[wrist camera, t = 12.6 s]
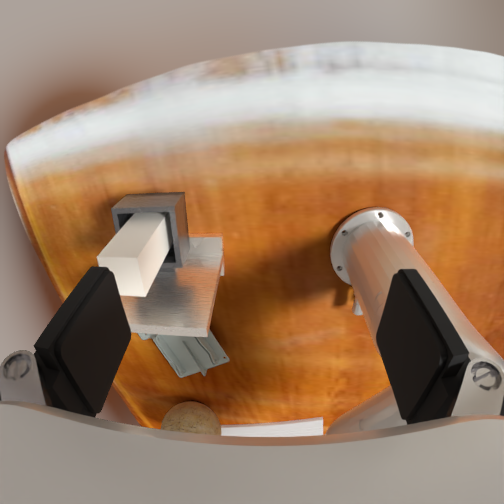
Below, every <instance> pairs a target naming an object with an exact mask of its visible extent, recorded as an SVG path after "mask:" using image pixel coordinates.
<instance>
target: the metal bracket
mask: <svg viewBox="0 0 504 504" xmlns="http://www.w3.org/2000/svg"><path fill="white" fill-rule="evenodd" d="M138 334H139V336H140V337H141V339H142V340H146V339H148V338H152V339H153V341H154V342H155V344H156V345H157V347H158V348H159V350H160V351H161V352H162V354H163V355H164V357H165V358H166V359H167V361H168V362H169V364H170V365H171V366H172V368H173V369H174V370H175V372H176V373H177V375H178V376H179V377H180V378H182V377H185V376H188V375H191V374H194V373H197V372H200V371H201V373H202V374H203V376H205V375H206V372H207V369H209V368H212V367H215V366H218V365H220V364H223V363H226V362H229V360H230V359H229V358H228V356H227V355H226V353H225V352H224V350H223V349H222V347H221V346H220V344H219V343H218V341H217V340H216V338H215V337H214V335H213V334H212V332H211V331H210V329H209V332H208V337H192V336H174V335H160V334H147V333H146V334H147V335H146V334H145V333H138ZM223 357H226V359H224V358H223ZM179 373H180V374H179Z"/></svg>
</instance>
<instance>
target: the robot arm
mask: <svg viewBox="0 0 504 504" xmlns="http://www.w3.org/2000/svg"><path fill="white" fill-rule="evenodd" d="M379 212H380V213H379ZM378 213H379V214H378ZM343 230H345V231H344V232H342V231H343ZM413 245H414V243H413V234H412V230H411V228H410V226H409V224H408V223H407V222H406V221H405V219H404V218H403V217H402V216H401V215H400V214H398V213H397V212H395V211H393V210H391V209H387V208H383V207H372V208H367V209H363V210H360V211H358V212H356V213H354V214H352V215H351V216H350V217H348V218H347V219H346V220H345V221H344V222H343V223H342V224H341V225H340V226H339V228H338V229H337V231H336V232H335V234H334V237H333V239H332V242H331V246H330V258H331V263H332V266H333V268H334V270H335V272H336V274H337V275H338V276H339V277H340V278H341V280H343V281H344V282H346V283H347V284H349V285H352V287H353V289H354V295H355V300H354V303H353V308H352V312H353V313H354V314H356V315H362V314H363V316H364V318H365V321H366V324H367V327H368V329H369V332H370V335H371V337H372V340H373V343H374V346H375V348H376V350H377V352H378V353H379V355H380V356H381V357H382V360H383V363H384V366H385V369H386V372H387V375H388V378H389V381H390V384H391V385H390V386H388V387H387V388H385V389H384V390H382V391H381V392H379V393H377V394H376V395H374V396H373V397H371V398H369V399H368V400H366V401H364V402H363V403H361V404H359V405H358V406H356V407H354V408H353V409H351V410H349V411H347V412H346V413H344V414H343V415H341V416H340V417H339V418H337V419H336V420H335V421H334V422H333V423H332V424H331V425H330V427H329V428H328V430H327V432H326V434H325V435H317V436H295V437H241V436H220V435H206V434H195V433H185V432H176V431H167V430H160V429H153V428H146V427H140V426H134V425H128V424H123V423H118V422H113V421H108V420H104V419H99V418H95V416H96V414H97V413H100V412H101V410H102V407H103V405H104V402H105V400H106V397H107V395H108V392H109V390H110V387H111V385H112V382H113V380H114V377H115V375H116V372H117V370H118V368H119V365H120V363H121V360H122V358H123V356H124V353H125V351H126V349H127V346H128V344H129V342H130V339H131V329H130V326H129V323H128V320H127V317H126V314H125V311H124V307H123V304H122V301H121V297H120V294H119V290H118V287H117V283H116V280H115V276H114V273H113V272H112V271H110V270H109V269H108V268H107V267H91V268H90V269H89V270H88V271H87V273H86V274H85V275H84V277H83V278H82V279H81V280H80V282H79V283H78V284H77V286H76V287H75V288H74V290H73V291H72V292H71V293H70V295H69V296H68V298H67V299H66V300H65V302H64V303H63V304H62V306H61V307H60V308H59V310H58V311H57V313H56V314H55V316H54V317H53V318H52V320H51V321H50V323H49V324H48V325H47V327H46V328H45V330H44V331H43V333H42V334H41V336H40V337H39V339H38V340H37V342H36V343H35V345H34V347H35V349H36V352H35V353H34V355H33V354H32V353H31V352H30V351H27V350H19V351H16V352H14V353H12V354H10V355H9V356H7V357H6V358H5V359H4V361H3V362H2V364H1V366H0V504H504V360H503V359H502V358H501V357H500V355H499V354H498V353H497V352H496V351H495V350H494V349H493V348H492V347H491V345H490V344H489V343H488V342H487V341H486V340H485V339H484V338H483V337H482V336H481V335H480V333H479V332H478V331H477V330H476V329H475V328H474V327H473V325H472V324H471V323H470V322H469V321H468V319H467V318H466V316H465V315H464V314H463V312H462V311H461V310H460V308H459V307H458V306H457V304H456V303H455V302H454V300H453V299H452V297H451V296H450V295H449V293H448V292H447V290H446V289H445V288H444V286H443V285H442V284H441V282H440V281H439V280H438V278H437V277H436V276H435V274H434V273H433V272H432V270H431V269H430V268H429V266H428V265H427V264H426V262H425V261H424V260H423V258H422V257H421V256H420V255H419V253H418V252H417V251H416V250H415V248H414V247H413Z"/></svg>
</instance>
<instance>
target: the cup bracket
mask: <svg viewBox="0 0 504 504" xmlns="http://www.w3.org/2000/svg"><path fill="white" fill-rule="evenodd" d="M111 211H112V216H113V221H114V226H115V231H116V234H117V233H118V231H119V230H120V229H121V228H122V227H123V226H124V225H125V223H126V222H127V221H128V220H129V219H130V218H131V217H132V216H133V215H134V214H135V213H149V212H169V213H170V221H171V229H172V236H173V244H172V246H171V248H170V250H169V251H168V253H167V255H166V257H165V259H164V261H163V263H162V265H161V267H160V269H159V271H158V273H157V275H156V277H155V279H154V281H153V283H152V285H151V287H150V289H149V291H148V293H147V295H146V297H140V296H124V295H120V297H121V301H122V304H123V307H124V311H125V314H126V317H127V320H128V323H129V326H130V329H131V332H135V333H147V334H160V335H174V336H192V337H208V332H209V327H210V322H211V317H212V312H213V307H214V302H215V297H216V292H217V288H218V283H219V278H220V276H224V273H225V264H224V248H223V233H188V223H187V213H186V203H185V192H169V193H146V194H128V195H126V196H125V197H123V198H122V199H121V200H120V201H119V202H118V203H117V204H116V205H115V206H113V207H112V208H111Z"/></svg>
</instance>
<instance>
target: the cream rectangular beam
mask: <svg viewBox="0 0 504 504" xmlns="http://www.w3.org/2000/svg"><path fill="white" fill-rule="evenodd" d="M172 244H173V236H172V229H171V221H170V213H169V212H149V213H135V214H134V215H133V216H132V217H131V218H130V219H129V220H128V221H127V222H126V223H125V225H124V226H123V227H122V228H121V229H120V230H119V231H118V233H117V234H116V235H115V236H114V237H113V238H112V239H111V241H110V242H109V243H108V244H107V245H106V247H105V248H104V249H103V250H102V251H101V252H100V254H99V255H98V256H97V260H98V264H99V267H107V268H108V269H109V270H110V271H112V272H113V273H114V276H115V280H116V283H117V287H118V290H119V294H120V295H124V296H140V297H146V295H147V293H148V291H149V289H150V287H151V285H152V283H153V281H154V279H155V277H156V275H157V273H158V271H159V269H160V267H161V265H162V263H163V261H164V259H165V257H166V255H167V253H168V251H169V250H170V248H171V246H172Z"/></svg>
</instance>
